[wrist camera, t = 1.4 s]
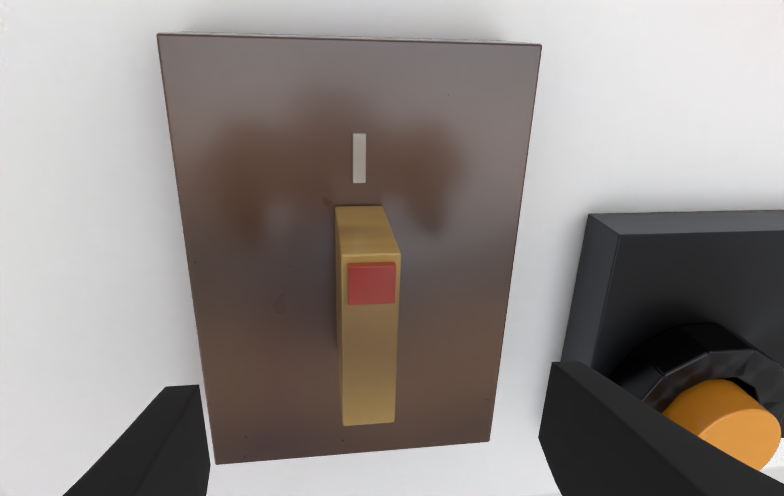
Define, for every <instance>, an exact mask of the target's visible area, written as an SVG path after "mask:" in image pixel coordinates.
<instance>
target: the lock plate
mask: <svg viewBox="0 0 784 496" xmlns="http://www.w3.org/2000/svg"><path fill="white" fill-rule="evenodd" d="M156 37H157V45H158V52H159V59H160V66H161V74H162V81H163V88H164V95H165V103H166V110H167V117H168V124H169V132H170V139H171V146H172V153H173V161H174V168H175V175H176V182H177V190H178V197H179V204H180V211H181V219H182V226H183V233H184V240H185V248H186V255H187V262H188V269H189V277H190V284H191V291H192V298H193V306H194V313H195V320H196V327H197V335H198V342H199V349H200V356H201V364H202V371H203V378H204V385H205V393H206V400H207V407H208V414H209V422H210V429H211V436H212V443H213V451H214V458H215V464H216V465H219V464H231V463H243V462H255V461H267V460H278V459H290V458H302V457H314V456H326V455H338V454H349V453H361V452H373V451H385V450H397V449H409V448H421V447H432V446H444V445H456V444H468V443H480V442H489V441H490V433H491V426H492V418H493V411H494V403H495V396H496V388H497V381H498V373H499V366H500V358H501V351H502V343H503V336H504V328H505V321H506V313H507V306H508V298H509V291H510V283H511V276H512V268H513V261H514V253H515V246H516V238H517V231H518V223H519V216H520V208H521V201H522V193H523V186H524V178H525V171H526V163H527V156H528V148H529V141H530V133H531V126H532V118H533V110H534V103H535V95H536V88H537V80H538V73H539V65H540V58H541V50H542V45H541V44H535V43H523V42H511V41H488V40H454V39H420V38H385V37H351V36H317V35H282V34H248V33H214V32H169V33H158V34H157V35H156ZM341 206H382V207H383V209H384V212H385V214H386V217H387V219H388V222H389V224H390V227H391V230H392V232H393V235H394V237H395V240H396V242H397V245H398V248H399V250H400V253H401V271H400V296H399V321H398V346H397V371H396V397H395V420H394V422H389V423H376V424H363V425H350V426H344V425H343V423H342V410H341V397H340V384H339V371H338V358H337V322H336V253H335V207H341Z"/></svg>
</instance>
